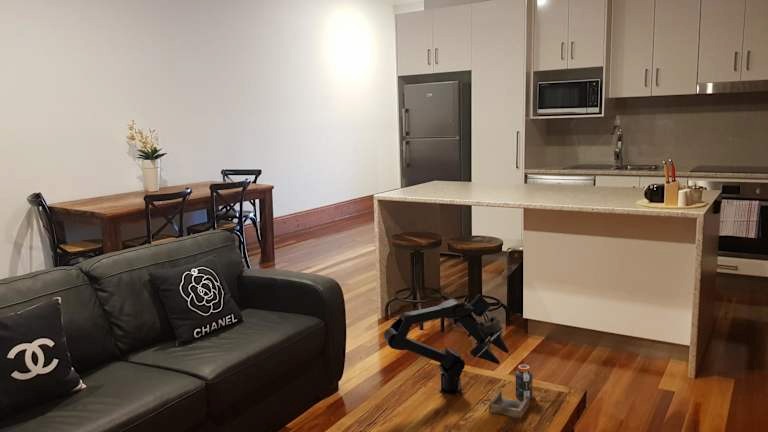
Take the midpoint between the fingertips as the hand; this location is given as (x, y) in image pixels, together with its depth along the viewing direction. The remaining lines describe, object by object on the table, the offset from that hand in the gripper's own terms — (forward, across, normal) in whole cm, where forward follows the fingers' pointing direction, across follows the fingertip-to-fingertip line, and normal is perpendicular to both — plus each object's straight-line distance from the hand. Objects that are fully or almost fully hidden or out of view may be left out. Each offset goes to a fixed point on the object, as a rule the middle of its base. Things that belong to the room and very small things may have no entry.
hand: (503, 357), depth 214 cm
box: (+13, -11, +6) cm, 18 cm away
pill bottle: (+15, 0, +5) cm, 16 cm away
